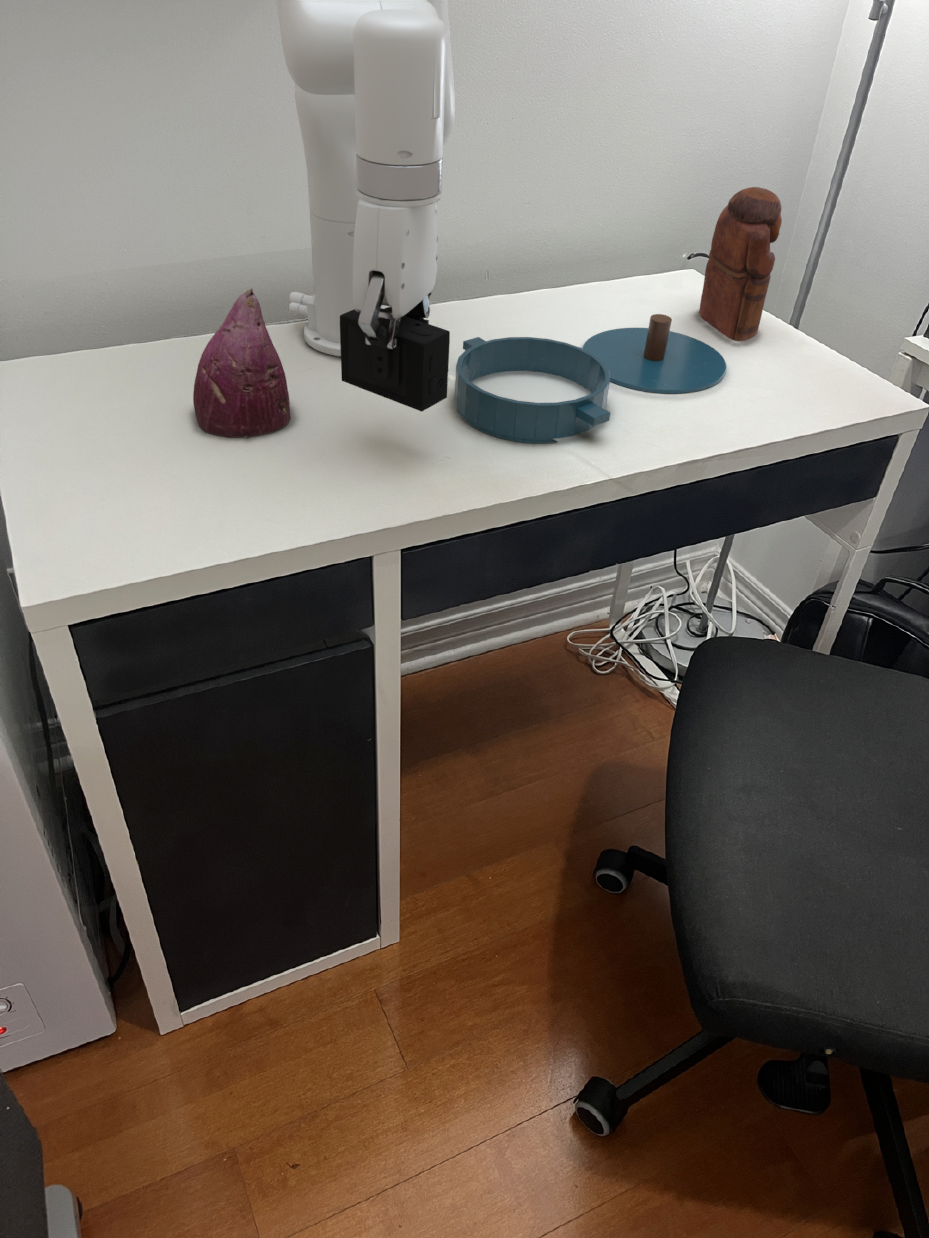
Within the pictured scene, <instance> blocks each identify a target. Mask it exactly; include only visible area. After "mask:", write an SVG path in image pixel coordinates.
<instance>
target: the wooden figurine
mask: <svg viewBox="0 0 929 1238" xmlns="http://www.w3.org/2000/svg"><path fill="white" fill-rule="evenodd" d="M782 219H783V218H782V202H781V200H780V198H779V197H778V195H777V194H776V193H774V192H773V191H771V190H769V189H767V188H764V187H760V186H752V187H746V188H742V189H740V190H739V191H737V192H736V193H734V194H733V196H732V197H731V198H730V199H729V200H728V203H727V205H726V206H725V207H724V208H723V209H722V211H721V212H720V214H719V216H718V219H717V221H716V224H715V228H714V231H713V235H712V239H711V245H710V251H709V253H708V260H707V262H706V266H705V270H704V279H703V287H702V293H701V298H700V303H699V311H698V313H699V317H700V318H701V319H702V320H703V321H705V322H706V323H707V324H709V325H710V326H712V327H713V328H714V329H715V330H717V331H718V332H719V333H720V334H722V335H723V336H725V337H727V339H729V340H732V341H735V342H745V341H748V340H750V339H752V338H754V337H755V336H756V335H757V333H758V330H759V327H760V323H761V319H762V315H763V310H764V307H765V302H766V299H767V298H766V297H767V293H768V291H769V290H768V289H769V286H770V282H771V274H772V272H773V269H774V265H775V262H776V255H775V253H774V252H772V251H771V244H773V243H775V242H776V241H777V240H778V238H779V236H780V230H781V227H782V221H783V220H782Z"/></svg>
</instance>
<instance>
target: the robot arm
mask: <svg viewBox="0 0 929 1238" xmlns="http://www.w3.org/2000/svg"><path fill="white" fill-rule="evenodd" d="M276 5H277V12H278V13H277V14H278V20H279V28H280V29H279V30H280V37H281V43H282V52H283V55H284V59H285V65H286V67H287V70H288V73H289V75H290V78H291V79H292V81H293V82H294V100H295V108H296V113H297V118H298V123H299V128H300V133H301V139H302V144H303V145H302V146H303V150H304V151H303V152H304V158H305V166H306V175H307V189H308V207H309V224H310V243H311V244H310V245H311V261H312V279H313V281H312V282H313V295H309V294H306V293H303V292H298V291H291V292H290V294H289V297H288V304H289V306H288V311H289V312H288V313H290V314H291V315H297V316H304V317H305V319H307V322H306V323H305V324H304V327H303V338H304V341H305V342H306V344H307V345H308V346H309V347H311V348H312V349H314V350H316V351H318V352H320V353H323V354H326V355H330V356H334V357H341V346H340V315H342V314H344V313H346V312H349V311H351V310H354V309H355V310H356V311H357V312H361V313H360V316H359V320H358V324H359V326H360V327H361V329H362V330H363V332H364V336H365V337H366V339H365V342H366V344H367V345H368V379H369V381H370V382H373V383H377V384H382V385H387V386H392V387H397V386H398V385H399V384H400V358H401V347H400V346H396V345H397V340H398V333H399V327H400V320H401V317H402V316H404V315H405V316H406V317H409V318H412V319H415V320H418V321H421V322H424V323H427V324H430V320H429V318H430V315H431V306H430V297H431V295H432V291H433V290H434V288H435V285H436V282H437V274H438V257H439V256H438V252H439V251H438V249H439V248H438V246H439V245H438V244H439V242H438V240H439V238H438V237H439V236H438V207H437V203H438V202H439V201H441V199H442V198H443V197H442V196H443V195H442V194H443V193H442V192H443V191H442V190H443V162H444V161H443V160H444V159H443V158H444V146H445V145H446V144H447V143H448V142H449V141H450V139H451V137H452V135H453V133H454V129H455V124H456V92H455V90H456V89H455V78H454V77H455V76H454V67H453V55H452V40H451V28H450V17H449V16H450V15H449V2H448V0H276ZM387 307H392V312H391V313H387V312H382V311H380V309H381V308H382V309H385V308H387ZM379 318H383V319H388V320H391V321H390V327H389V333H388V331H387V330H386V328H385V327H384V326H381V325H380V322H379V320H378V319H379Z"/></svg>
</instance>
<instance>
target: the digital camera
mask: <svg viewBox="0 0 929 1238" xmlns="http://www.w3.org/2000/svg"><path fill="white" fill-rule="evenodd" d="M380 311H382V312H387V313H391V312H392V307H387V308H385V309H382V308H381V309H380ZM360 313H361V312H357V311H356V310H355V309H354V310H351V311H349V312H346V313H344V314H342V315H340V346H341V356H340V370H341V372H340V374H341V381H342V382H344V383H347V384H348V385H351V386H354V387H357V388H359V389H362V390H364V391H367V392H370V393H372V394H375V395H377V396H380V397H382V398H385V399H388V400H390V401H393V402H395V403H398V404H401V405H403V406H406V407H409V408H411V409H414V410H416V411H419V412H424V411H426V410H428V409H429V408H431V407H433V406H435V405H436V404H438V403H440V402H441V401H443V400H445V399H447V398H448V380H449V363H450V362H449V361H450V360H449V359H450V345H451V343H450V341H451V340H450V339H451V338H450V337H451V331H450V330H448V329H445V328H442V327H439V326H436V325H432V324H430V323H429V324H427V323H424V322H421V321H418V320H415V319H412V318H409V317H406V316H405V315H404V316H402V317H401V320H400V327H399V333H398V340H397V345H396V346H400V347H401V358H400V384H399V385H398V386H397V387H392V386H387V385H382V384H377V383H373V382H370V381H369V379H368V345H367V344H366V342H365V339H366V337H365V336H364V332H363V330H362V329H361V327H360V326H359V324H358V320H359V316H360ZM378 320H379V322H380V325H381V326H384V327H385V328H386V330H387V331H388V333H389V327H390V321H391V320H388V319H383V318H379V319H378Z"/></svg>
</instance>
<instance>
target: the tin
mask: <svg viewBox="0 0 929 1238" xmlns="http://www.w3.org/2000/svg"><path fill="white" fill-rule="evenodd" d="M582 348H583V347H579V346H576V345H574V344H571V343H568V342H565V341H564V342H563V341H559V340H555V339H550V338H542V337H531V336H509V337H501V338H494V339H493V338H492V339H489V340H485V339H483V338H481V337H479V336H477V337H474V338H469V339H466V340H463V342H462V350H464V351H463V352H462V353H461V354H460V355H459V356H458V358H457V361H456V366H455V379H454V380H455V381H454V399H453V400H454V407H455V410H456V412H457V414H458V415H459V417H460V418H461V419H462V420H463V421H464V422H465V423H467V425H469V426H471V427H472V428H474V429H475V430H478V431H480V432H482V433H484V434H486V435H489V436H492V437H494V438H498V439H501V440H504V441H505V440H506V441H511V442H516V443H523V444H556V443H558V441H557V440H558V439H563V438H568V437H574V436H577V435H579V434H583V433H585V432H588V431H590V430H591V429H593V428H595V427H596V426H599V425H602V424H604V423H607V422H609V421H610V417H611V412H610V411H609V410H607V402H608V395H609V390H610V384H611V382H610V372H609V370H608V368H607V366H606V365H605V363H604V362H602V361H601V360H600V359H599V358H598V357H597V356H595V355H594V354H592V353H590V352H588V351H586V350H584V349H582ZM505 372H532V373H533V372H534V373H542V374H543V373H544V374H548V375H553V376H557V377H562V378H564V379H565V380H569V381H571V382H575V383H576V384H578V385H580V386H581V387H584V388H585V389H586V390H588V392H590V394H587V395H584V396H582V397H579V398H576V399H570V400H569V399H568V400H563V401H557V402H534V401H524V400H517V399H513V398H508V397H503V396H499V395H497V394H495V393H492V392H489V391H487V390H484V389H482V388H481V387H479V386H478V385H476V384H474V383H473V382H474V381H475V380H478V379H479V378H483V377H485V376H489V375H492V374H498V373H505Z"/></svg>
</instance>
